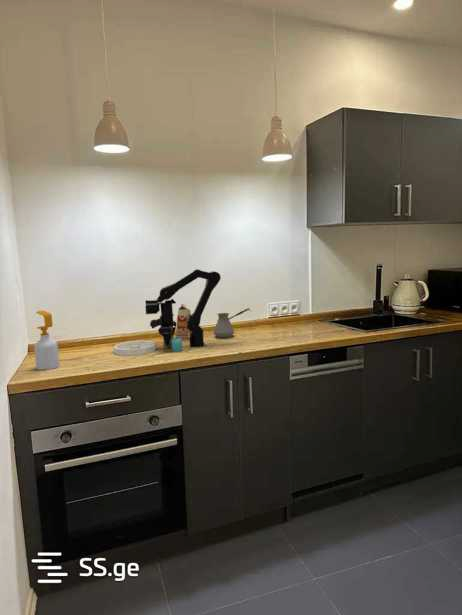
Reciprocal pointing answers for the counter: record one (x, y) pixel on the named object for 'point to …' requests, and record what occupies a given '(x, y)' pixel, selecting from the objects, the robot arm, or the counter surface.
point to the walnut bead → (169, 344)
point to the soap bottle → (46, 346)
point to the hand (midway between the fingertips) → (168, 343)
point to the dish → (135, 348)
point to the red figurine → (183, 323)
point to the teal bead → (176, 344)
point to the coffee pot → (225, 325)
